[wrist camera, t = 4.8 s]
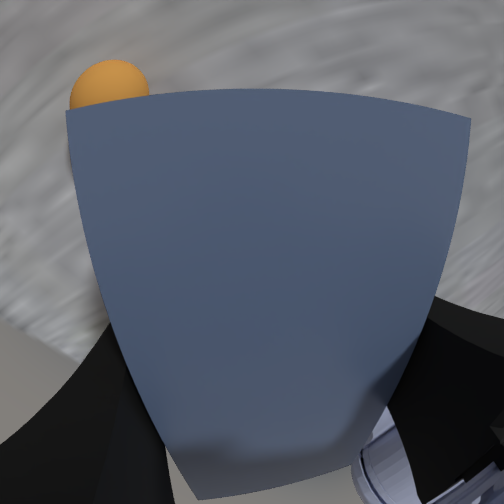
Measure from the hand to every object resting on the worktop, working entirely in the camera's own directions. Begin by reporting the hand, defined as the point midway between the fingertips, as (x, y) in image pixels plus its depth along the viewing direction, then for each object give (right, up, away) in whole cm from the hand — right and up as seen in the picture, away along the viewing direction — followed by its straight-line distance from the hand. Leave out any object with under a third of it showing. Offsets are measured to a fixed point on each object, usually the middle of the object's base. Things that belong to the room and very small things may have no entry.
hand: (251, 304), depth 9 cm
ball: (-6, +8, +2) cm, 10 cm away
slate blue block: (0, +1, +1) cm, 2 cm away
